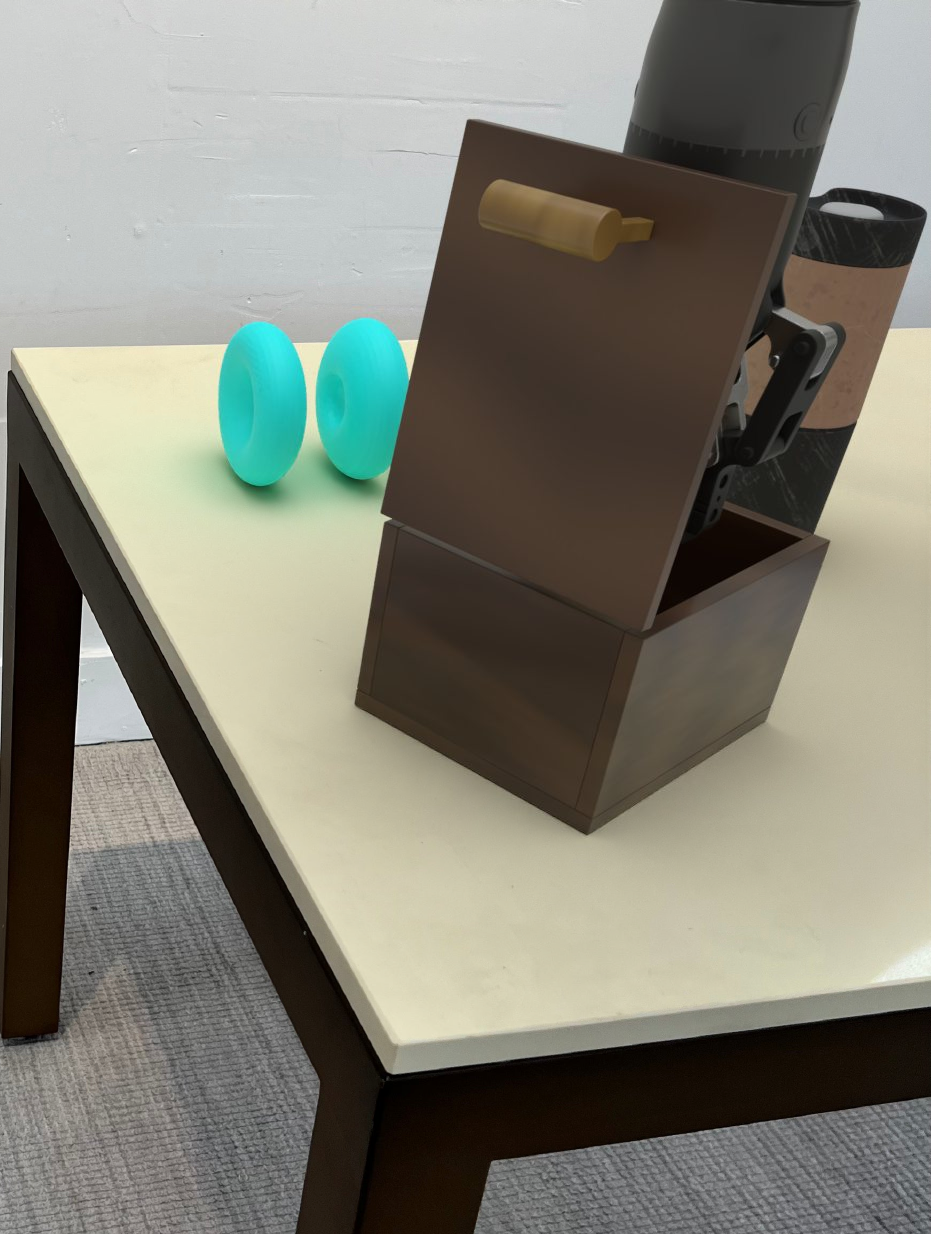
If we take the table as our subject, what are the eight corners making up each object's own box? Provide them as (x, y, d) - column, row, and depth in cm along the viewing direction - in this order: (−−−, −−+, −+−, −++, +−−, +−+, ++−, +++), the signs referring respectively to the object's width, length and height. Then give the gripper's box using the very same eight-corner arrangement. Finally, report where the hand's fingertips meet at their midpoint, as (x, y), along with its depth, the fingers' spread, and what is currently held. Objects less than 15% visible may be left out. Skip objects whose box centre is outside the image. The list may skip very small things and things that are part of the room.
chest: (540, 614, 82) (581, 445, 77) (766, 720, 74) (831, 540, 69) (353, 704, 74) (383, 521, 68) (587, 835, 66) (643, 640, 60)
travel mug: (800, 578, 88) (923, 229, 76) (671, 545, 91) (770, 204, 79) (819, 532, 93) (937, 200, 82) (697, 502, 96) (793, 178, 84)
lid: (478, 118, 59) (400, 118, 56) (799, 193, 51) (727, 198, 48) (390, 510, 68) (318, 529, 65) (651, 628, 60) (583, 655, 57)
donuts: (206, 451, 99) (219, 301, 94) (345, 443, 102) (366, 296, 96) (254, 513, 92) (271, 354, 86) (402, 503, 94) (429, 347, 88)
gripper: (949, 146, 56) (808, 549, 66) (626, 81, 65) (544, 446, 75) (857, 168, 52) (721, 595, 62) (524, 96, 61) (451, 481, 71)
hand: (625, 512), depth 68 cm, fingers closed on lemon, 5 cm apart
